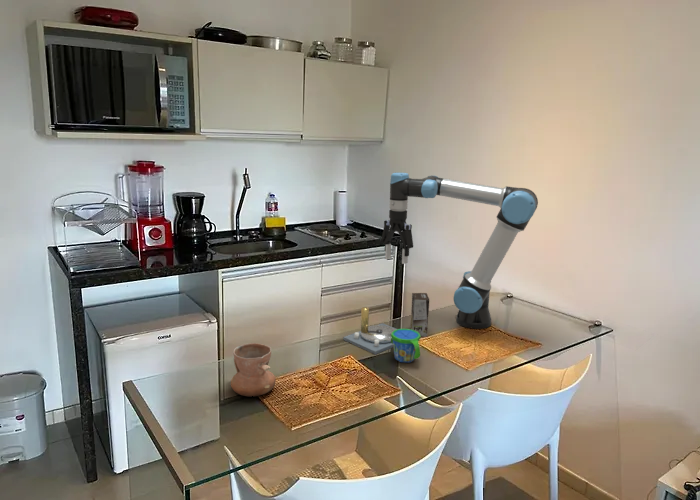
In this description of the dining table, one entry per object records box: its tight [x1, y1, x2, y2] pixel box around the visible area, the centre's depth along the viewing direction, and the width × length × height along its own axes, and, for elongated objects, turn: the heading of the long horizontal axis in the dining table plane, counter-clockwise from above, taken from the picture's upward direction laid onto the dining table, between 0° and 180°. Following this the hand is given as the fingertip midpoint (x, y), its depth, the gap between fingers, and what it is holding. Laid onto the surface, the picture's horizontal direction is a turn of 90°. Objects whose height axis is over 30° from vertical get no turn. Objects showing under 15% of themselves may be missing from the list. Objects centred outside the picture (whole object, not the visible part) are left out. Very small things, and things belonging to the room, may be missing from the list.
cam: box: [360, 306, 395, 343], centre depth 214 cm, size 15×15×12 cm
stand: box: [342, 322, 398, 355], centre depth 216 cm, size 18×23×4 cm
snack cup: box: [391, 328, 422, 364], centre depth 198 cm, size 16×10×10 cm
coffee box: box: [410, 292, 430, 337], centre depth 222 cm, size 9×6×16 cm
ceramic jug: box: [230, 342, 277, 398], centre depth 173 cm, size 18×14×14 cm
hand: (396, 260), depth 230 cm, fingers open, 9 cm apart
